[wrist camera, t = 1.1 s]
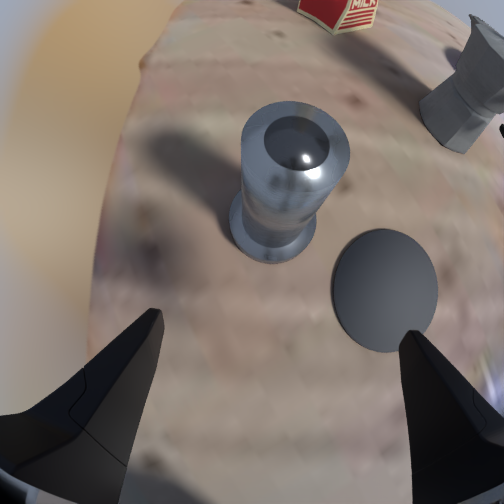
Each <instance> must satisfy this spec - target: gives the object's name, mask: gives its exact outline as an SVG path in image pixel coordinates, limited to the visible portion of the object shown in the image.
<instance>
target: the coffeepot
mask: <svg viewBox="0 0 504 504" xmlns="http://www.w3.org/2000/svg"><path fill="white" fill-rule="evenodd" d="M469 17H470V19H471V35H470V37H469V39H468V41H467V43H466V46H465V48H464V50H463V52H462V54H461V56H460V58H459V60H458V62H457V64H456V68H457V70H456V71H455V73H454V74H453V75H451V76H450V77H449V78H448V79H446V80H445V81H444V82H443V83H441V84H440V85H439V86H438V87H436V88H435V89H434V90H433V91H432V92H430V93H429V94H428V95H427V96H426V97H424V98H423V99H422V100H421V101H419V106H420V114H421V117H422V119H423V121H424V124H425V125H426V127H427V128H428V130H429V131H430V133H431V134H432V135H433V136H434V137H435V138H436V139H437V140H438V141H439V142H440V143H441V144H442V145H443V146H445V147H446V148H448V149H450V150H452V151H454V152H458V153H463V154H465V153H466V152H467V151H468V149H469V148H470V147H471V146H472V145H473V143H474V142H475V141H476V139H477V138H478V137H479V136H480V134H481V133H482V132H483V131H484V129H485V128H486V127H487V125H488V124H489V123H490V121H491V120H492V119H493V117H494V116H495V115H496V114H501V113H503V112H504V37H503V36H501V35H500V34H499V33H498V32H497V31H495V30H494V29H493V28H492V27H490V26H489V25H488V24H486V23H485V22H484V21H483V20H480V19H479V18H478V17H476V16H473V15H471V14H469ZM499 130H500V132H501V134H502V136H503V138H504V124H502V125H501V126H500V128H499Z"/></svg>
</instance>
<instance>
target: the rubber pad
mask: <svg viewBox="0 0 504 504" xmlns="http://www.w3.org/2000/svg"><path fill="white" fill-rule="evenodd" d="M333 293H334V303H335V308H336V312H337V315H338V318H339V320H340V322H341V324H342V326H343V327H344V329H345V331H346V332H347V333H348V334H349V336H350V337H351V338H352V339H353V340H355V341H356V342H357V343H358V344H360V345H361V346H363V347H365V348H367V349H370V350H373V351H376V352H384V353H385V352H395V351H399V344H400V342H401V340H402V339H403V337H404V336H405V334H406V333H407V331H408V330H419V331H420V332H421V333H422V334H423V333H424V332H425V331H426V329H427V328H428V326H429V325H430V323H431V321H432V319H433V316H434V313H435V310H436V305H437V299H438V284H437V277H436V273H435V270H434V267H433V264H432V262H431V260H430V258H429V256H428V255H427V253H426V252H425V250H424V249H423V248H422V247H421V246H420V245H419V244H418V243H417V242H416V241H415V240H414V239H412V238H411V237H409V236H408V235H406V234H403V233H401V232H398V231H394V230H378V231H373V232H370V233H368V234H366V235H364V236H362V237H360V238H359V239H358V240H356V241H355V242H354V243H353V244H352V245H351V246H350V247H349V248H348V249H347V251H346V252H345V253H344V255H343V257H342V258H341V260H340V263H339V265H338V267H337V271H336V274H335V279H334V290H333Z"/></svg>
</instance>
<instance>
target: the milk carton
mask: <svg viewBox="0 0 504 504" xmlns="http://www.w3.org/2000/svg"><path fill="white" fill-rule="evenodd" d="M378 1H379V0H299V4H298V9H297V12H299V13H300V14H302V15H304V16H306V17H308V18H310V19H312V20H314V21H315V22H317V23H318V24H319V25H321V26H322V27H323V28H325V29H326V30H327V31H328V32H330V33H331V34H332V35H336V34H341V33H346V32H351V31H356V30H360V29H365V28H369V27H372V25H373V21H374V18H375V14H376V10H377V6H378Z"/></svg>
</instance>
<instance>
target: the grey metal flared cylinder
mask: <svg viewBox="0 0 504 504" xmlns="http://www.w3.org/2000/svg"><path fill="white" fill-rule="evenodd" d="M349 160H350V147H349V142H348V139H347V137H346V135H345V133H344V131H343V129H342V128H341V126H340V125H339V124H338V123H337V122H336V120H334V119H333V118H332V117H331V116H330V115H329V114H327V113H326V112H324V111H322V110H321V109H319V108H317V107H315V106H312V105H309V104H306V103H302V102H295V101H283V102H277V103H273V104H269V105H267V106H264V107H262V108H261V109H259V110H258V111H256V112H255V113H254V114H253V115H252V116H251V117H250V118H249V119H248V121H247V122H246V124H245V126H244V128H243V131H242V136H241V190H240V191H239V192H238V193H237V195H236V196H235V198H234V200H233V202H232V204H231V207H230V212H229V223H230V230H231V234H232V237H233V239H234V241H235V243H236V245H237V246H238V248H239V249H240V250H241V251H242V252H243V253H244V254H245V255H247V256H248V257H250V258H252V259H253V260H256V261H258V262H262V263H267V264H278V263H283V262H286V261H289V260H291V259H293V258H294V257H296V256H297V255H299V254H300V253H301V252H302V251H303V250H304V249H305V248H306V247H307V245H308V244H309V243H310V241H311V240H312V238H313V235H314V232H315V229H316V212H317V210H318V209H319V208H320V206H321V205H322V204H323V202H324V201H325V199H326V198H327V197H328V195H329V194H330V192H331V191H332V190H333V188H334V187H335V185H336V184H337V183H338V181H339V180H340V178H341V177H342V176H343V174H344V172H345V171H346V169H347V167H348V164H349Z"/></svg>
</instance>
